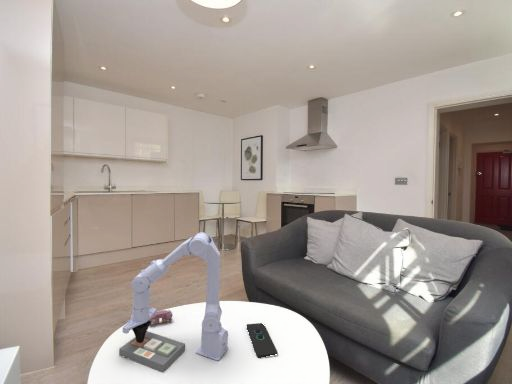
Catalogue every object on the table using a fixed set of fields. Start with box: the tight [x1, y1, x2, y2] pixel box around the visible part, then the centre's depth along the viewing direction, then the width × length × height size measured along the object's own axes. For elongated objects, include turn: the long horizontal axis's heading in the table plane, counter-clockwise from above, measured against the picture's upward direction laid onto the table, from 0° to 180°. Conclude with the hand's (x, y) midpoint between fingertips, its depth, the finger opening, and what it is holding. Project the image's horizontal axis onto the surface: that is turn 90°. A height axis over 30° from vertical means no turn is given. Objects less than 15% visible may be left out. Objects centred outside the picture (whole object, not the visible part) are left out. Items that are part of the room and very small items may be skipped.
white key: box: [144, 338, 162, 352], centre depth 95 cm, size 4×4×2 cm
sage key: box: [157, 343, 176, 357], centre depth 93 cm, size 4×4×2 cm
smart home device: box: [246, 322, 278, 359], centre depth 106 cm, size 8×2×20 cm
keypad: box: [118, 330, 186, 373], centre depth 95 cm, size 19×12×3 cm, turn 70°
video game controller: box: [149, 309, 173, 325], centre depth 114 cm, size 10×5×7 cm
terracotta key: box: [131, 338, 149, 347], centre depth 97 cm, size 4×4×2 cm
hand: (139, 341), depth 97 cm, fingers closed, pressing on terracotta key
